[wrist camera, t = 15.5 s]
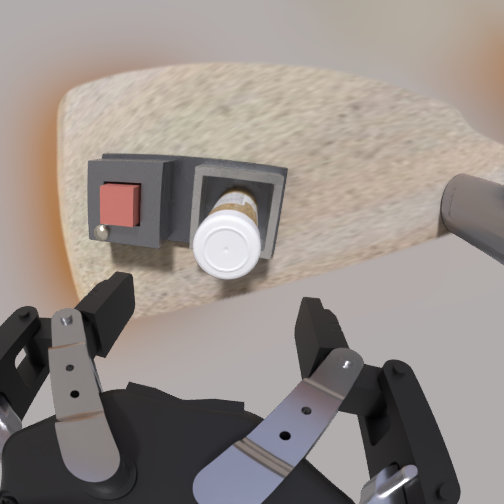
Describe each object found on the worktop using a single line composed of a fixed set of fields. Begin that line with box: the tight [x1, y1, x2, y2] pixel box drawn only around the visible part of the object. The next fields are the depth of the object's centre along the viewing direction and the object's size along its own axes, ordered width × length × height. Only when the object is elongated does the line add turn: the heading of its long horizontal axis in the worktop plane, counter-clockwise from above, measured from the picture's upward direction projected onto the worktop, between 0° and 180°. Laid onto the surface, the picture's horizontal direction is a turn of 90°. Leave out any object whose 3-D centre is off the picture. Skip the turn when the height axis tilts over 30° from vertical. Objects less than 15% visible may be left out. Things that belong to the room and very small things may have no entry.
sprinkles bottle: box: [193, 188, 261, 280], centre depth 24 cm, size 5×5×13 cm
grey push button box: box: [88, 154, 288, 259], centre depth 28 cm, size 22×10×6 cm, turn 82°
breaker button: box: [100, 182, 141, 227], centre depth 27 cm, size 4×4×5 cm
